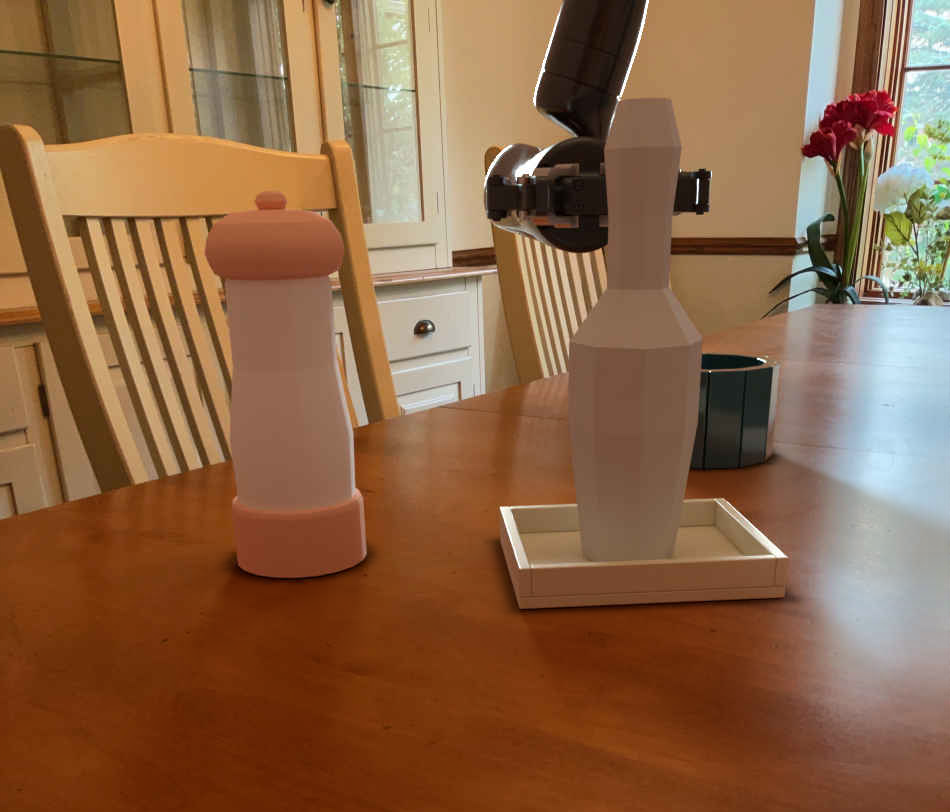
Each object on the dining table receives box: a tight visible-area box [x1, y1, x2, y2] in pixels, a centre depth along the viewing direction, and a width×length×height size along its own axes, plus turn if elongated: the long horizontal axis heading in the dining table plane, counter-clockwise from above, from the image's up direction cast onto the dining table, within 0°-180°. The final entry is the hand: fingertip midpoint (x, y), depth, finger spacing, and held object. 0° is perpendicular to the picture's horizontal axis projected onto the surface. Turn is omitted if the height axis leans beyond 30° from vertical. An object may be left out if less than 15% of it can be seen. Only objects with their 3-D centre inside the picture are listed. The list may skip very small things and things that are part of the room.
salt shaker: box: [204, 190, 368, 579], centre depth 56 cm, size 7×7×19 cm
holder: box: [689, 351, 781, 470], centre depth 80 cm, size 10×10×7 cm
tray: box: [499, 497, 789, 610], centre depth 56 cm, size 13×11×2 cm
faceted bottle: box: [567, 97, 704, 562], centre depth 52 cm, size 6×6×22 cm
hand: (614, 194), depth 61 cm, fingers open, 8 cm apart
